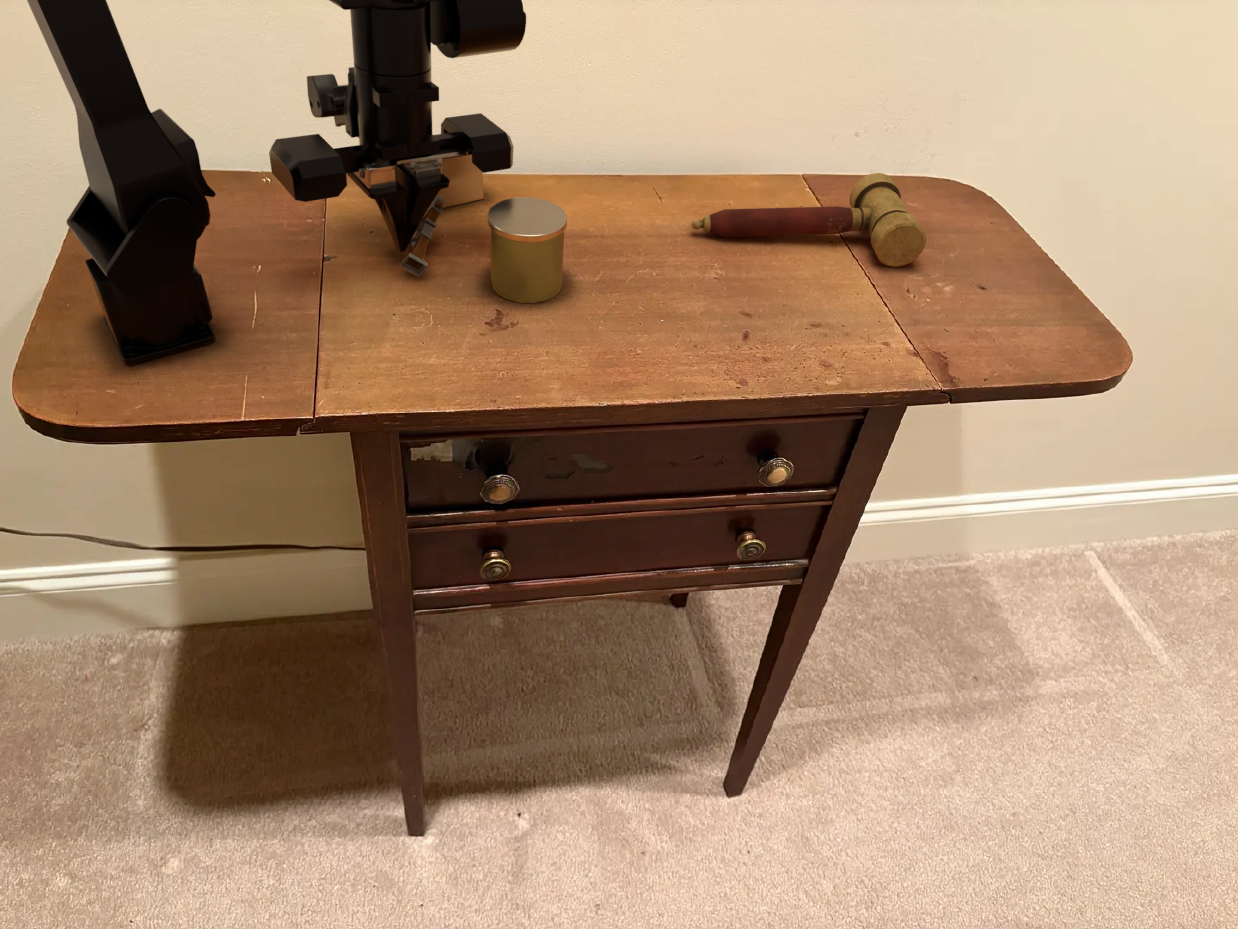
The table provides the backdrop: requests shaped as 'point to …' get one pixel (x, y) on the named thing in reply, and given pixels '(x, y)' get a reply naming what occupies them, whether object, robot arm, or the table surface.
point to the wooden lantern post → (423, 238)
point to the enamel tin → (527, 249)
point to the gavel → (835, 221)
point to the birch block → (461, 181)
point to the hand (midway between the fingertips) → (400, 249)
